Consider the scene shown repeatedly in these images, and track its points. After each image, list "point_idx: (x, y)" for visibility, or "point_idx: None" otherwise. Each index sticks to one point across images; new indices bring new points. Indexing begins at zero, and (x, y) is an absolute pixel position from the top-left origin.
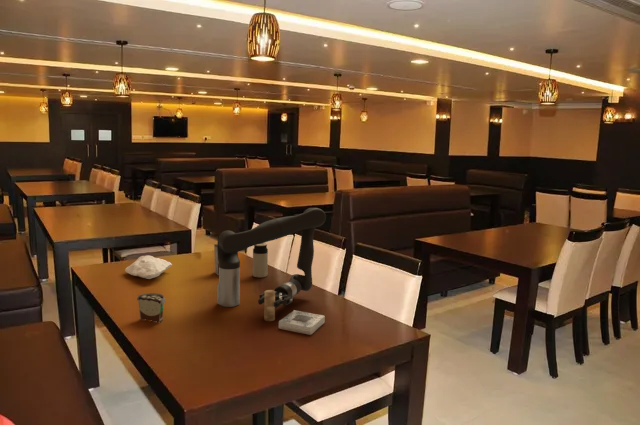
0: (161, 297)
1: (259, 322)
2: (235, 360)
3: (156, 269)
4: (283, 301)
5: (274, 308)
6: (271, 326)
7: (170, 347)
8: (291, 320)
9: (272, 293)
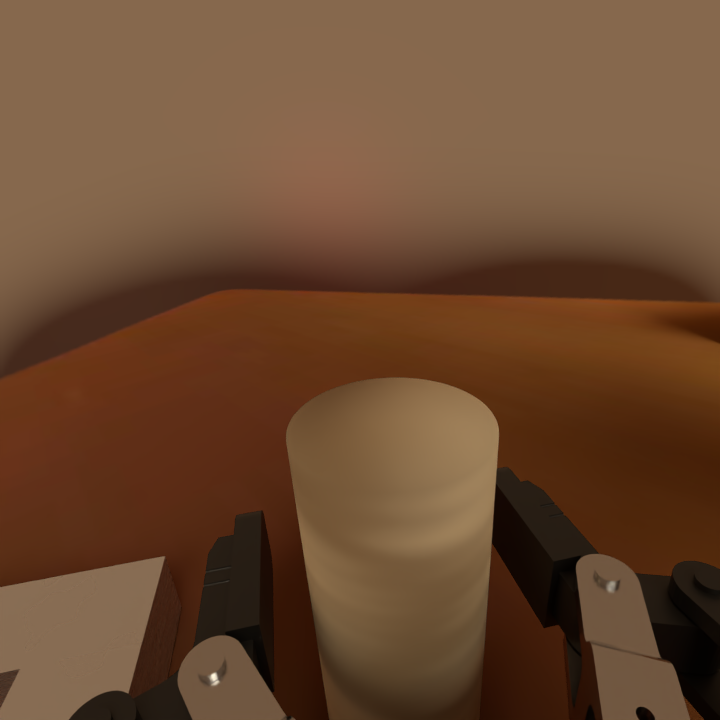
0: None
1: None
2: (235, 351)
3: None
4: (147, 697)
5: (321, 668)
6: None
7: (460, 317)
8: (16, 652)
9: (299, 414)
